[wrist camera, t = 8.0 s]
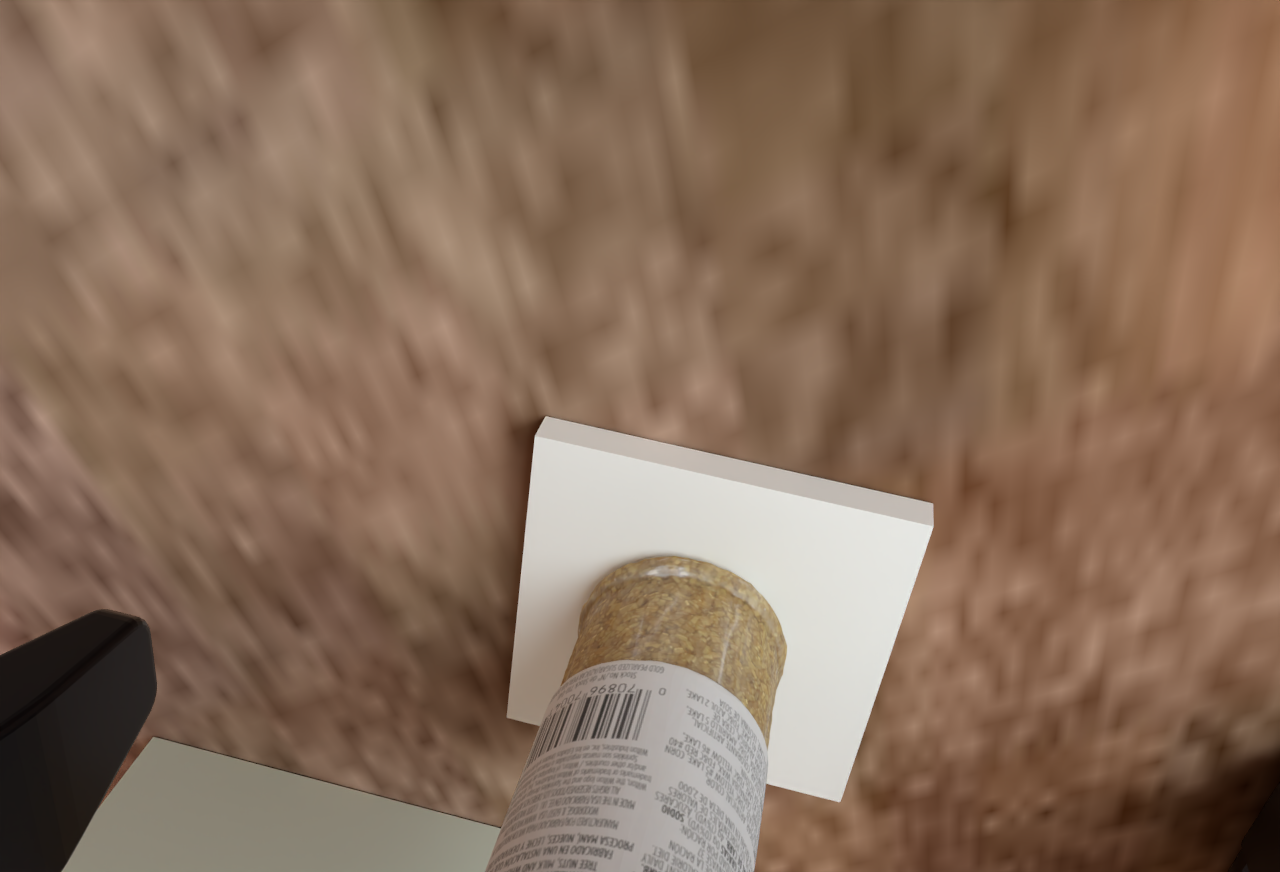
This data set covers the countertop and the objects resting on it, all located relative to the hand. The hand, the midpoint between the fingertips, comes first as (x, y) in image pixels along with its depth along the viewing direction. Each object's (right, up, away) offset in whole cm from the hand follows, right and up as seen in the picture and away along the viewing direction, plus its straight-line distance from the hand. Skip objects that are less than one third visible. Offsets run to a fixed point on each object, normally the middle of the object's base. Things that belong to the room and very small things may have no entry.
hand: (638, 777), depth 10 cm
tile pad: (+1, -1, +16) cm, 16 cm away
